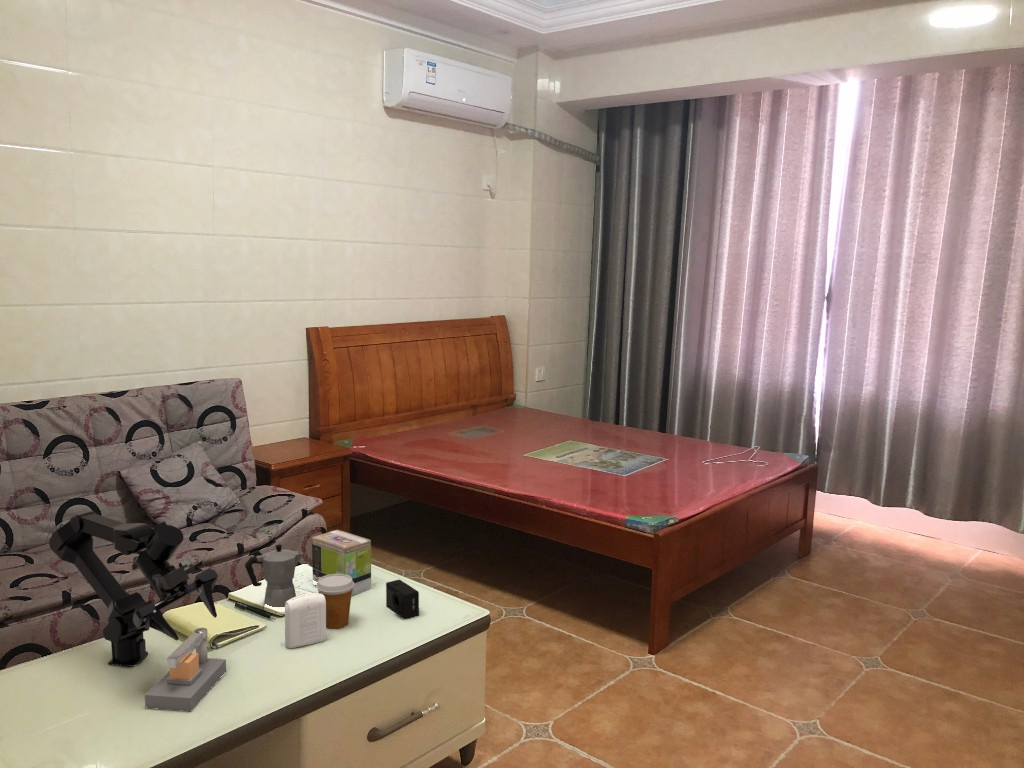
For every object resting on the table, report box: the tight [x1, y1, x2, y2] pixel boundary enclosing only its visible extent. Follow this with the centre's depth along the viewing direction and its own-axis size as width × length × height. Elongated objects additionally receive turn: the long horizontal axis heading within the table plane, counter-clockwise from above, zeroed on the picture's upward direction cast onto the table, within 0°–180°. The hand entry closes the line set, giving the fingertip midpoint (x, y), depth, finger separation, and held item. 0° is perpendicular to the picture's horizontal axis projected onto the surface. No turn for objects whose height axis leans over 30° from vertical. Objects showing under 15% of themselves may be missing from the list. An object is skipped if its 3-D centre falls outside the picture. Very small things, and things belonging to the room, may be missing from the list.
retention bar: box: [166, 627, 208, 669], centre depth 183 cm, size 3×15×2 cm, turn 174°
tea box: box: [311, 529, 372, 597], centre depth 240 cm, size 15×10×15 cm
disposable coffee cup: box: [315, 574, 354, 630], centre depth 216 cm, size 10×10×12 cm
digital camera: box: [385, 579, 420, 621], centre depth 225 cm, size 10×5×7 cm, turn 37°
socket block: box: [144, 638, 227, 712], centre depth 183 cm, size 10×17×8 cm, turn 174°
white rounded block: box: [284, 592, 327, 649], centre depth 206 cm, size 10×4×12 cm, turn 123°
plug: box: [167, 652, 203, 685], centre depth 182 cm, size 5×5×8 cm
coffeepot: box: [244, 544, 305, 607], centre depth 224 cm, size 15×9×18 cm, turn 117°
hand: (197, 627), depth 183 cm, fingers open, 9 cm apart
